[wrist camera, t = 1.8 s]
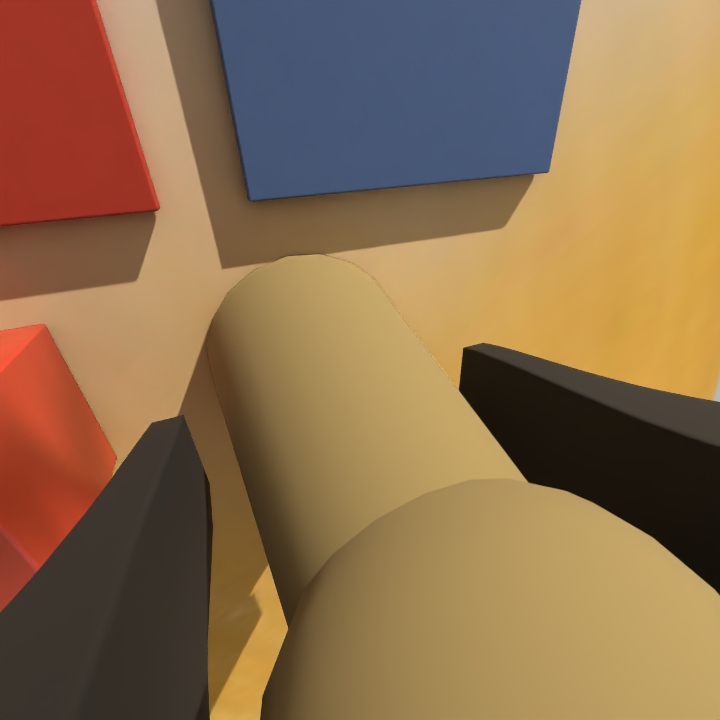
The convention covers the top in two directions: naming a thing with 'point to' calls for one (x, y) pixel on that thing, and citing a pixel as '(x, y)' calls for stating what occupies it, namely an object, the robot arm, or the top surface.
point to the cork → (433, 533)
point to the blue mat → (392, 90)
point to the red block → (42, 454)
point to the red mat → (65, 118)
